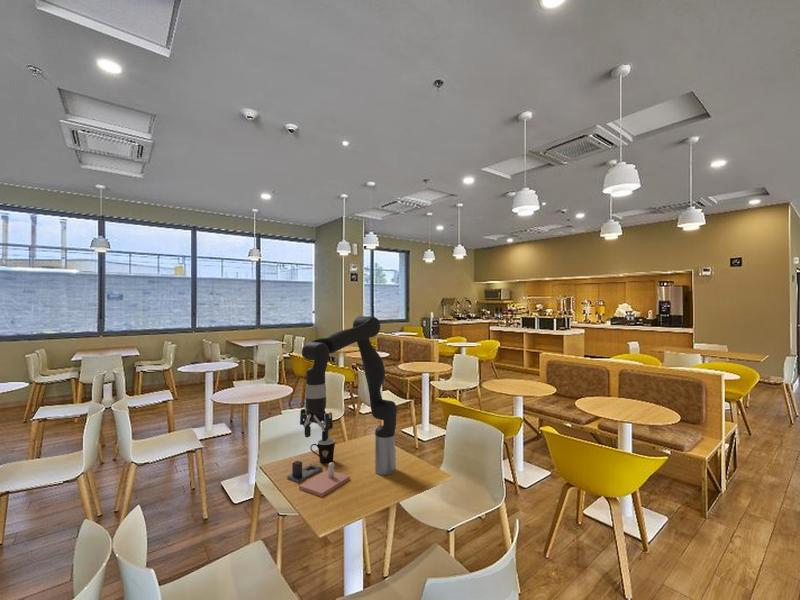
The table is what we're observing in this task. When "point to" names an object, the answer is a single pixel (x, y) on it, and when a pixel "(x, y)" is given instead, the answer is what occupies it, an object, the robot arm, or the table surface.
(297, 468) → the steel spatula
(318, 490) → the pink board with peg
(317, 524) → the table surface
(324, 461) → the coffee mug
